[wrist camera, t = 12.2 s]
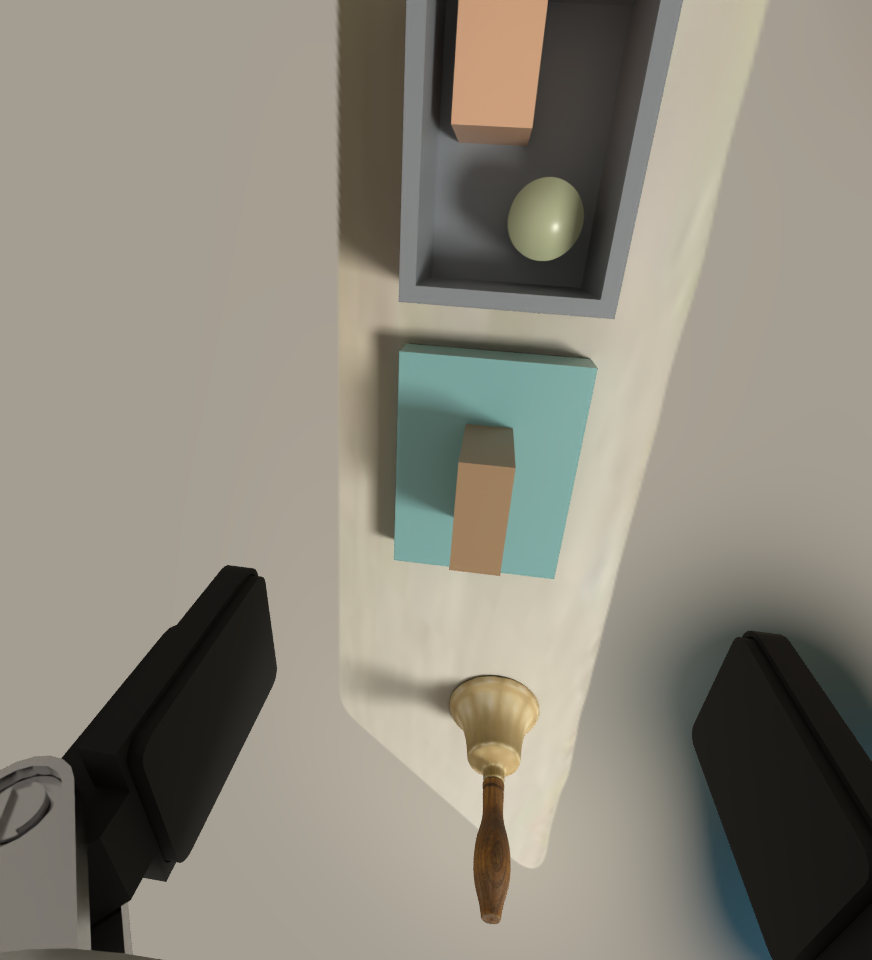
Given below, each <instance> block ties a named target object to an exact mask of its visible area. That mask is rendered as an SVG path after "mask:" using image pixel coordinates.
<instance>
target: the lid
mask: <svg viewBox="0 0 872 960" xmlns="http://www.w3.org/2000/svg"><path fill="white" fill-rule="evenodd" d="M597 369H598V368H597V367H596V365H595V364H594V363H593V361H592V360H591V359H585V358H573V357H561V356H550V355H538V354H526V353H514V352H502V351H490V350H478V349H466V348H454V347H442V346H431V345H419V344H407V343H406V344H405V345H404V347H403V348H402V349H401V350H400V351H399V381H398V421H397V461H396V500H395V540H394V560H398V561H406V562H415V563H423V564H431V565H440V566H448V567H449V570H455V571H463V572H472V573H480V574H488V575H497V576H500V573H507V574H515V575H524V576H532V577H540V578H549V579H554V577H555V572H556V567H557V562H558V557H559V553H560V548H561V543H562V538H563V533H564V528H565V524H566V519H567V514H568V509H569V504H570V500H571V495H572V490H573V485H574V480H575V475H576V471H577V466H578V461H579V456H580V451H581V446H582V442H583V437H584V432H585V427H586V422H587V417H588V413H589V408H590V403H591V398H592V393H593V388H594V384H595V379H596V374H597Z"/></svg>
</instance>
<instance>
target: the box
mask: <svg viewBox="0 0 872 960" xmlns="http://www.w3.org/2000/svg"><path fill="white" fill-rule="evenodd" d="M682 2H683V0H406V35H405V74H404V113H403V152H402V190H401V229H400V268H399V302H406V303H419V304H431V305H444V306H456V307H469V308H481V309H494V310H506V311H519V312H531V313H544V314H556V315H569V316H581V317H594V318H606V319H614V318H615V314H616V309H617V305H618V300H619V295H620V291H621V286H622V281H623V277H624V272H625V267H626V263H627V258H628V253H629V249H630V244H631V239H632V235H633V230H634V226H635V221H636V216H637V212H638V207H639V202H640V198H641V193H642V188H643V184H644V179H645V174H646V170H647V165H648V160H649V156H650V151H651V146H652V142H653V137H654V133H655V128H656V123H657V119H658V114H659V109H660V105H661V100H662V95H663V91H664V86H665V81H666V77H667V72H668V67H669V63H670V58H671V54H672V49H673V44H674V40H675V35H676V30H677V26H678V21H679V16H680V12H681V7H682Z"/></svg>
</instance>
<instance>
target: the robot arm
mask: <svg viewBox="0 0 872 960" xmlns="http://www.w3.org/2000/svg"><path fill="white" fill-rule="evenodd" d="M276 672H277V665H276V657H275V650H274V643H273V635H272V628H271V621H270V613H269V606H268V598H267V591H266V583H265V579H264V578H263V577H259V576H258V573H257V571H256V570H255V569H253V568H246V567H238V566H230V565H227V566H225V567H224V568H222V569H221V571H220V572H219V573H218V575H217V576H216V577H215V578H214V580H213V581H212V582H211V583H210V584H209V586H208V587H207V588H206V589H205V591H204V592H203V593H202V594H201V595H200V597H199V598H198V599H197V600H196V602H195V603H194V604H193V605H192V607H191V608H190V609H189V610H188V612H187V613H186V614H185V615H184V617H183V618H182V619H181V620H180V622H179V623H178V624H177V625H175V626H173V627H171V628H169V629H168V630H167V631H166V632H165V633H164V634H163V635H162V637H161V638H160V639H159V640H158V641H157V643H156V644H155V645H154V646H153V647H152V649H151V650H150V651H149V652H148V653H147V655H146V656H145V657H144V658H143V660H142V661H141V662H140V663H139V665H138V666H137V667H136V668H135V669H134V671H133V672H132V673H131V674H130V675H129V677H128V678H127V679H126V680H125V681H124V683H123V684H122V685H121V687H120V688H119V689H118V690H117V691H116V693H115V694H114V695H113V696H112V697H111V699H110V700H109V701H108V702H107V704H106V705H105V706H104V707H103V708H102V710H101V711H100V712H99V713H98V714H97V716H96V717H95V718H94V719H93V721H92V722H91V723H90V724H89V725H88V727H87V728H86V729H85V730H84V732H83V733H82V734H81V735H80V736H79V738H78V739H77V740H76V741H75V742H74V744H73V745H72V746H71V747H70V749H69V750H68V751H67V752H66V753H65V755H64V756H63V757H62V758H61V759H60V758H56V757H52V756H39V757H32V758H29V759H25V760H22V761H19V762H16V763H14V764H12V765H10V766H8V767H6V768H4V769H2V770H0V960H160V959H154V958H148V957H142V956H136V955H133V953H132V942H131V931H130V922H129V921H130V920H129V910H128V901H130V900H131V898H132V896H133V895H134V893H135V891H136V889H137V887H138V886H139V884H140V882H141V880H142V878H148V879H153V880H159V881H165V882H166V881H167V879H168V877H169V875H170V873H171V871H172V869H173V867H174V865H175V863H176V862H179V863H181V862H183V861H184V860H185V859H186V858H187V857H188V855H189V854H190V852H191V850H192V848H193V846H194V844H195V842H196V840H197V838H198V836H199V834H200V832H201V830H202V828H203V826H204V824H205V822H206V820H207V818H208V816H209V814H210V812H211V810H212V808H213V806H214V804H215V802H216V800H217V798H218V796H219V794H220V792H221V790H222V787H223V785H224V784H225V781H226V780H227V777H228V775H229V773H230V771H231V769H232V767H233V765H234V763H235V761H236V759H237V757H238V755H239V753H240V751H241V749H242V747H243V745H244V743H245V741H246V739H247V737H248V735H249V733H250V731H251V729H252V727H253V725H254V723H255V721H256V719H257V717H258V715H259V713H260V711H261V708H262V707H263V704H264V703H265V700H266V698H267V696H268V694H269V692H270V690H271V688H272V686H273V684H274V681H275V678H276ZM692 740H693V745H694V748H695V751H696V753H697V756H698V759H699V762H700V764H701V767H702V770H703V773H704V775H705V778H706V781H707V783H708V786H709V789H710V792H711V795H712V797H713V800H714V803H715V806H716V808H717V811H718V814H719V816H720V819H721V822H722V825H723V827H724V830H725V833H726V836H727V839H728V841H729V844H730V847H731V850H732V852H733V855H734V857H735V860H736V863H737V866H738V869H739V871H740V874H741V877H742V880H743V882H744V885H745V888H746V891H747V893H748V896H749V899H750V902H751V904H752V907H753V910H754V913H755V915H756V918H757V921H758V924H759V926H760V929H761V932H762V934H763V937H764V940H765V943H766V945H767V948H768V951H769V953H770V955H771V957H772V959H773V960H872V761H871V760H870V759H869V757H868V755H867V754H866V753H865V751H864V750H863V748H862V747H861V745H860V744H859V742H858V741H857V740H856V738H855V736H854V735H853V733H852V732H851V731H850V729H849V728H848V726H847V725H846V723H845V722H844V720H843V719H842V718H841V716H840V715H839V713H838V712H837V710H836V709H835V707H834V706H833V704H832V703H831V701H830V700H829V698H828V697H827V695H826V694H825V692H824V691H823V690H822V688H821V687H820V685H819V684H818V682H817V681H816V679H815V678H814V676H813V675H812V673H811V672H810V671H809V669H808V668H807V666H806V665H805V663H804V662H803V660H802V659H801V658H800V656H799V655H798V653H797V652H796V650H795V649H794V647H793V646H792V644H791V643H790V641H789V640H788V639H787V638H786V637H784V636H783V635H780V634H771V633H764V632H756V631H747V632H746V633H745V634H744V635H743V636H742V638H741V637H737V638H736V639H734V641H733V643H732V645H731V647H730V649H729V651H728V653H727V655H726V657H725V660H724V662H723V664H722V666H721V668H720V670H719V672H718V675H717V677H716V679H715V681H714V683H713V685H712V687H711V689H710V691H709V694H708V696H707V698H706V700H705V702H704V704H703V706H702V708H701V711H700V713H699V715H698V717H697V719H696V721H695V723H694V725H693V730H692Z"/></svg>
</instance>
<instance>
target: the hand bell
mask: <svg viewBox="0 0 872 960" xmlns="http://www.w3.org/2000/svg"><path fill="white" fill-rule="evenodd" d="M449 707H450V712H451V715H452V717H453V719H454V721H455V722H456V724H457V725H458V726H459V727H460V728H461V729H462V730H463V731H464V734H465V738H466V744H467V757H468V762H469V764H470V766H471V767H472V768H473V769H474V770H475V771H476V772H478V773H479V774H481V775H483V780H484V781H483V816H482V821H481V825H480V828H479V831H478V834H477V838H476V843H475V851H474V868H473V870H474V881H475V888H476V892H477V896H478V900H479V905H480V912H481V919H482V920H483V921H484V922H486V923H489V924H498V923H499V922H500V920H501V914H502V910H503V905H504V901H505V898H506V895H507V891H508V887H509V881H510V850H509V843H508V838H507V833H506V830H505V826H504V821H503V799H504V793H503V792H504V777H506V776H509V775H511V774H512V773H514V772H515V771H516V770H517V769H518V767H519V765H520V761H521V748H522V742H523V738H524V736H525V734H526V733H528V732H529V731H530V730H531V729H532V728H533V726H534V725H535V723H536V721H537V719H538V716H539V704H538V701H537V699H536V697H535V696H534V694H533V693H532V692H531V691H530V690H529V689H528V688H527V687H525V686H524V685H522V684H520V683H518V682H516V681H514V680H511V679H508V678H502V677H496V676H486V677H478V678H474V679H472V680H469V681H467V682H465V683H463V684H461V685H460V686H459V687H458V688H457V689H456V690H455V691H454V692H453V694H452V696H451V699H450V703H449Z"/></svg>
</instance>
